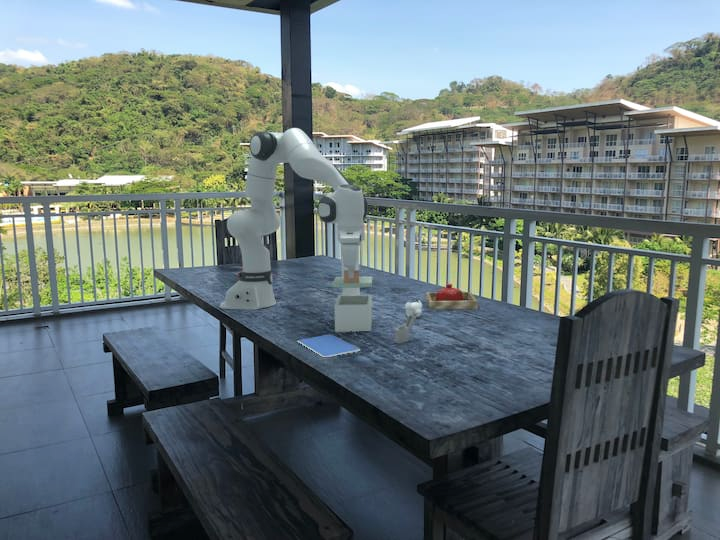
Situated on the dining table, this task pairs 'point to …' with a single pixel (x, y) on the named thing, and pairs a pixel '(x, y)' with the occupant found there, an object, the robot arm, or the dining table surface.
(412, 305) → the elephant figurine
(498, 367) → the dining table surface
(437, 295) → the butter dish
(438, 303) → the wooden frame
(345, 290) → the cylindrical container
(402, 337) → the lighter
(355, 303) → the parts tub
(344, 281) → the lid
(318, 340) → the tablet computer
